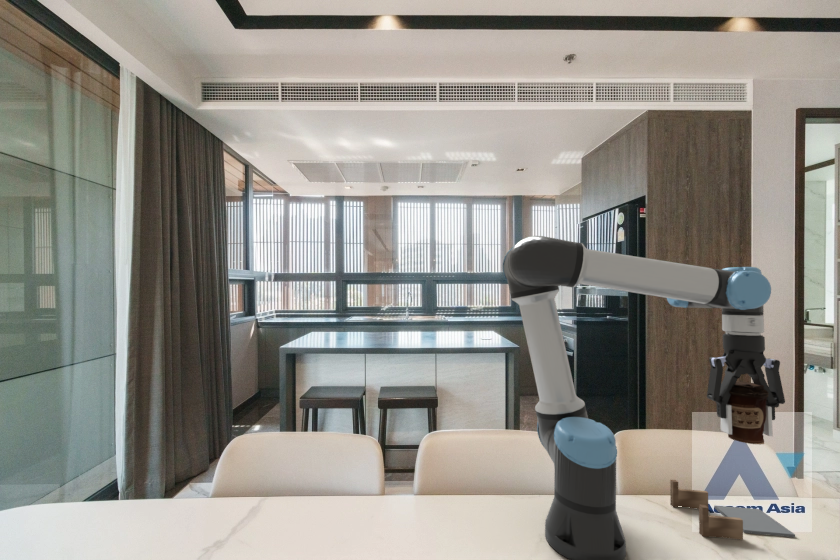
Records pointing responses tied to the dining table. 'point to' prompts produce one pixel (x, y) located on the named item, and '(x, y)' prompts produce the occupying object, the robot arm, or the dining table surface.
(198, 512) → the dining table surface
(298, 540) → the dining table surface
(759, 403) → the coffee cup
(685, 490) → the cup holder rails
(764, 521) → the coaster
